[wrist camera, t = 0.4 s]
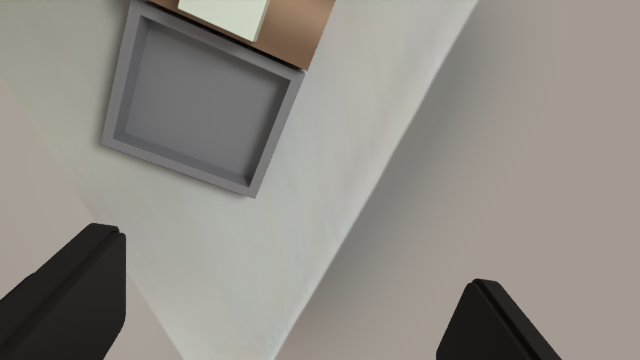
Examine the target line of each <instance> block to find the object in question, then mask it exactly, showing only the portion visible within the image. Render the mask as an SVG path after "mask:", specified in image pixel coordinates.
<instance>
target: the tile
mask: <svg viewBox="0 0 640 360" xmlns="http://www.w3.org/2000/svg"><path fill="white" fill-rule="evenodd" d="M269 3H270V0H180V1H179V5H178V8H179V9H181V10H183V11H185V12H188V13H190V14H192V15H194V16H196V17H199V18H201V19H203V20H205V21H208V22H210V23H212V24H214V25H216V26H219V27H221V28H223V29H225V30H228V31H230V32H232V33H234V34H236V35H239V36H241V37H243V38H245V39H248V40H250V41H252V42H256V41H257V38H258V35H259V32H260V29H261V26H262V23H263V20H264V17H265V14H266V12H267V9H268V6H269Z"/></svg>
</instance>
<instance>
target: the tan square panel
mask: <svg viewBox="0 0 640 360" xmlns="http://www.w3.org/2000/svg"><path fill="white" fill-rule="evenodd" d="M150 1H152V2H154V3H156V4H159V5H161V6H163V7H165V8H168V9H170V10H172V11H174V12H176V13H179V14H181V15H183V16H185V17H188V18H190V19H192V20H194V21H197V22H199V23H201V24H203V25H206V26H208V27H210V28H212V29H215V30H217V31H219V32H221V33H223V34H226V35H228V36H230V37H232V38H235V39H237V40H239V41H241V42H244V43H246V44H248V45H250V46H253V47H255V48H257V49H259V50H262V51H264V52H266V53H268V54H270V55H273V56H275V57H277V58H279V59H282V60H284V61H286V62H288V63H291V64H293V65H295V66H297V67H300V68H302V69H304V70H306V71H307V70H308V68H309V65H310V63H311V60H312V58H313V55H314V53H315V50H316V48H317V45H318V43H319V40H320V38H321V35H322V33H323V31H324V28H325V26H326V23H327V21H328V18H329V16H330V13H331V11H332V8H333V6H334V3H335V1H336V0H270V3H269V6H268V9H267V12H266V14H265V17H264V20H263V23H262V26H261V29H260V32H259V35H258V38H257V41H256V42H252V41H250V40H248V39H245V38H243V37H241V36H239V35H236V34H234V33H232V32H230V31H228V30H225V29H223V28H221V27H219V26H216V25H214V24H212V23H210V22H208V21H205V20H203V19H201V18H199V17H196V16H194V15H192V14H190V13H188V12H185V11H183V10H181V9H179V8H178V5H179V1H180V0H150Z"/></svg>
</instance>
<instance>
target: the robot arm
mask: <svg viewBox="0 0 640 360" xmlns="http://www.w3.org/2000/svg"><path fill="white" fill-rule="evenodd" d="M125 316H126V236H125V234H124V233H119V229H118V227H117V226H111V225H104V224H97V223H91V224H89V225H88V226H86V227H85V228H84V229H83V230H82V231H81V232H80V233H79V234H78V235H77V236H75V237H74V238H73V239H72V240H71V241H70V242H69V243H67V244H66V245H65V246H64V247H63V248H62V249H61V250H59V251H58V252H57V253H56V254H55V255H54V256H53V257H52V258H51V259H49V260H48V261H47V262H46V263H45V264H44V265H43V266H41V267H40V268H39V269H38V270H37V271H36V272H35V273H32V274H31V275H29V276H28V277H26V278H25V279H24V280H23V281H22V282H20V283H19V284H18V285H17V286H16V287H15V288H14V289H13V290H11V291H10V292H9V293H8V294H7V295H6V296H5V297H3V298H2V299H1V300H0V360H103V359H104V357H105V356H106V354H107V352H108V351H109V349H110V347H111V346H112V344H113V342H114V341H115V339H116V338H117V336H118V334H119V333H120V331H121V328H122V327H123V324H124V321H125ZM436 360H561V358H560V357H559V356H558V355H557V353H556V352H555V351H554V350H553V348H552V347H551V346H550V345H549V344H548V342H547V341H546V340H545V339H544V338H543V336H542V335H541V334H540V333H539V331H538V330H537V329H536V328H535V326H534V325H533V324H532V323H531V322H530V320H529V319H528V318H527V317H526V315H525V314H524V313H523V312H522V310H521V309H520V308H519V307H518V306H517V304H516V303H515V302H514V301H513V300H512V298H511V297H510V296H509V295H508V293H507V292H506V291H505V290H504V288H503V287H502V286H501V285H500V284H499V283H498V282H496V281H491V280H484V279H474V280H473V281H472V283H468V284H467V286H466V287H465V289H464V292H463V294H462V296H461V298H460V301H459V303H458V305H457V307H456V309H455V311H454V314H453V316H452V318H451V321H450V322H449V325H448V327H447V329H446V331H445V334H444V336H443V338H442V340H441V342H440V345H439V347H438V349H437V352H436Z"/></svg>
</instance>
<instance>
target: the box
mask: <svg viewBox="0 0 640 360" xmlns="http://www.w3.org/2000/svg"><path fill="white" fill-rule="evenodd" d="M304 76H305V73H304V72H303V71H301V70H299V69H297V68H295V67H292V66H290V65H288V64H286V63H283V62H281V61H279V60H277V59H274V58H272V57H270V56H268V55H265V54H263V53H261V52H259V51H256V50H254V49H252V48H250V47H247V46H245V45H243V44H241V43H238V42H236V41H234V40H232V39H229V38H227V37H225V36H223V35H220V34H218V33H216V32H214V31H211V30H209V29H207V28H205V27H202V26H200V25H198V24H196V23H193V22H191V21H189V20H187V19H184V18H182V17H180V16H178V15H176V14H173V13H171V12H169V11H167V10H164V9H162V8H160V7H158V6H155V5H153V4H151V3H149V2H146V1H143V0H131V1H130V6H129V10H128V15H127V20H126V25H125V29H124V34H123V39H122V43H121V48H120V53H119V58H118V62H117V67H116V72H115V76H114V81H113V86H112V91H111V95H110V100H109V105H108V109H107V114H106V119H105V123H104V128H103V133H102V138H101V142H100V144H101V145H104V146H107V147H110V148H112V149H115V150H118V151H121V152H124V153H127V154H129V155H132V156H135V157H138V158H141V159H144V160H146V161H149V162H152V163H155V164H158V165H161V166H163V167H166V168H169V169H172V170H175V171H177V172H180V173H183V174H186V175H189V176H192V177H194V178H197V179H200V180H203V181H206V182H209V183H211V184H214V185H217V186H220V187H223V188H225V189H228V190H231V191H234V192H237V193H240V194H242V195H245V196H248V197H251V198H254V199H255V198H256V195H257V193H258V190H259V188H260V185H261V183H262V180H263V178H264V175H265V173H266V170H267V168H268V165H269V163H270V160H271V158H272V155H273V153H274V150H275V148H276V145H277V143H278V140H279V138H280V135H281V133H282V130H283V128H284V125H285V123H286V120H287V118H288V115H289V113H290V110H291V108H292V105H293V103H294V100H295V98H296V95H297V93H298V90H299V88H300V85H301V83H302V80H303V78H304Z"/></svg>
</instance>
